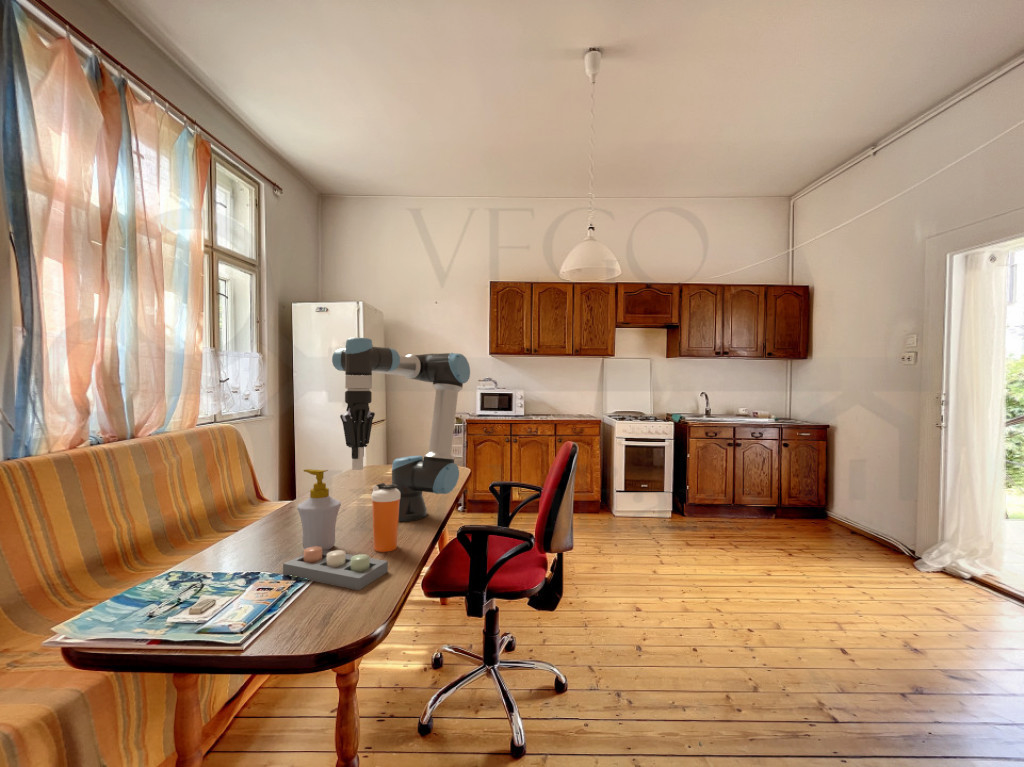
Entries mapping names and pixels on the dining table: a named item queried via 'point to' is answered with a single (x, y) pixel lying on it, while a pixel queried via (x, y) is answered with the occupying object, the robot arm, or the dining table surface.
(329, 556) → the cream egg
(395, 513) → the shaker bottle
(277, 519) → the dining table surface
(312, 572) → the panel
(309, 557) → the brown egg
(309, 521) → the soap bottle
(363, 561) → the pale green rounded knob
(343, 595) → the dining table surface
